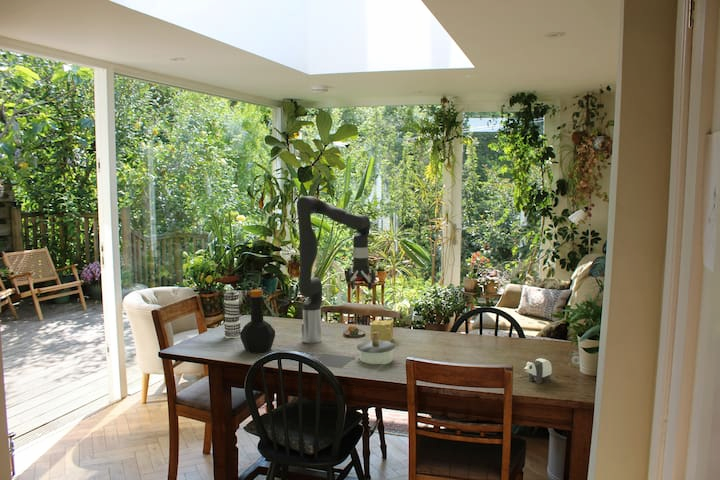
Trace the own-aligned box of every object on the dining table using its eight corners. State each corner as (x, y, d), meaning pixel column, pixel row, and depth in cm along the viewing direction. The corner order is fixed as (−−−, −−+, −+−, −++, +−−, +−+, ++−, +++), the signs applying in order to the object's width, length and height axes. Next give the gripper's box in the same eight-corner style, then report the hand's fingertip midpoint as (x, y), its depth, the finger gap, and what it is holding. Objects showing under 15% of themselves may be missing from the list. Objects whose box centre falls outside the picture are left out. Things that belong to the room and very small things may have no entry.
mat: (309, 365, 258) (309, 363, 258) (324, 354, 273) (324, 353, 273) (341, 369, 252) (341, 367, 252) (355, 358, 267) (355, 357, 267)
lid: (351, 350, 259) (351, 335, 258) (365, 340, 274) (365, 326, 274) (386, 354, 252) (386, 339, 252) (398, 344, 268) (398, 329, 267)
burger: (367, 337, 303) (367, 323, 302) (346, 339, 300) (346, 325, 299) (361, 331, 314) (361, 318, 314) (340, 333, 311) (340, 320, 310)
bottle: (258, 343, 294) (256, 286, 291) (281, 348, 285) (279, 289, 282) (234, 351, 281) (232, 291, 278) (258, 356, 272) (256, 294, 269)
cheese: (390, 344, 289) (390, 325, 287) (369, 343, 291) (369, 324, 290) (393, 338, 299) (393, 320, 298) (373, 337, 301) (373, 319, 300)
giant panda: (541, 375, 239) (542, 353, 238) (553, 379, 235) (553, 357, 234) (519, 383, 231) (519, 360, 230) (530, 387, 227) (530, 364, 226)
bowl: (355, 363, 260) (355, 350, 259) (367, 353, 273) (366, 341, 273) (385, 366, 255) (385, 353, 254) (396, 356, 268) (395, 344, 267)
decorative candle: (222, 335, 310) (220, 290, 307) (239, 333, 314) (237, 288, 311) (226, 339, 302) (224, 293, 299) (243, 337, 305) (241, 291, 303)
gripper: (344, 256, 275) (344, 289, 276) (371, 257, 269) (372, 291, 271) (350, 254, 282) (350, 287, 283) (377, 255, 276) (377, 288, 278)
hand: (361, 289), depth 277 cm, fingers open, 8 cm apart
